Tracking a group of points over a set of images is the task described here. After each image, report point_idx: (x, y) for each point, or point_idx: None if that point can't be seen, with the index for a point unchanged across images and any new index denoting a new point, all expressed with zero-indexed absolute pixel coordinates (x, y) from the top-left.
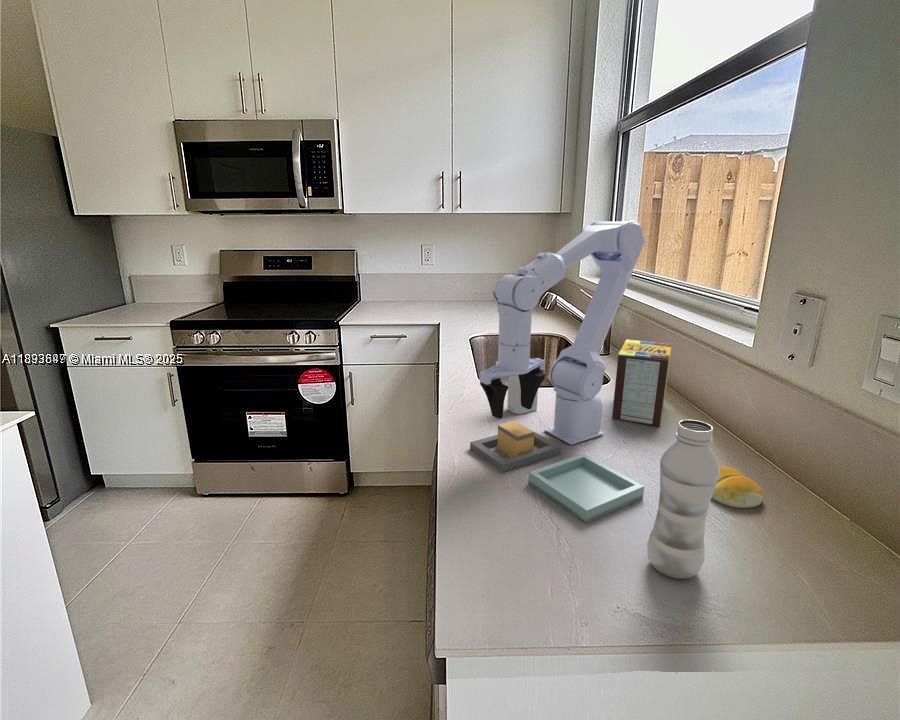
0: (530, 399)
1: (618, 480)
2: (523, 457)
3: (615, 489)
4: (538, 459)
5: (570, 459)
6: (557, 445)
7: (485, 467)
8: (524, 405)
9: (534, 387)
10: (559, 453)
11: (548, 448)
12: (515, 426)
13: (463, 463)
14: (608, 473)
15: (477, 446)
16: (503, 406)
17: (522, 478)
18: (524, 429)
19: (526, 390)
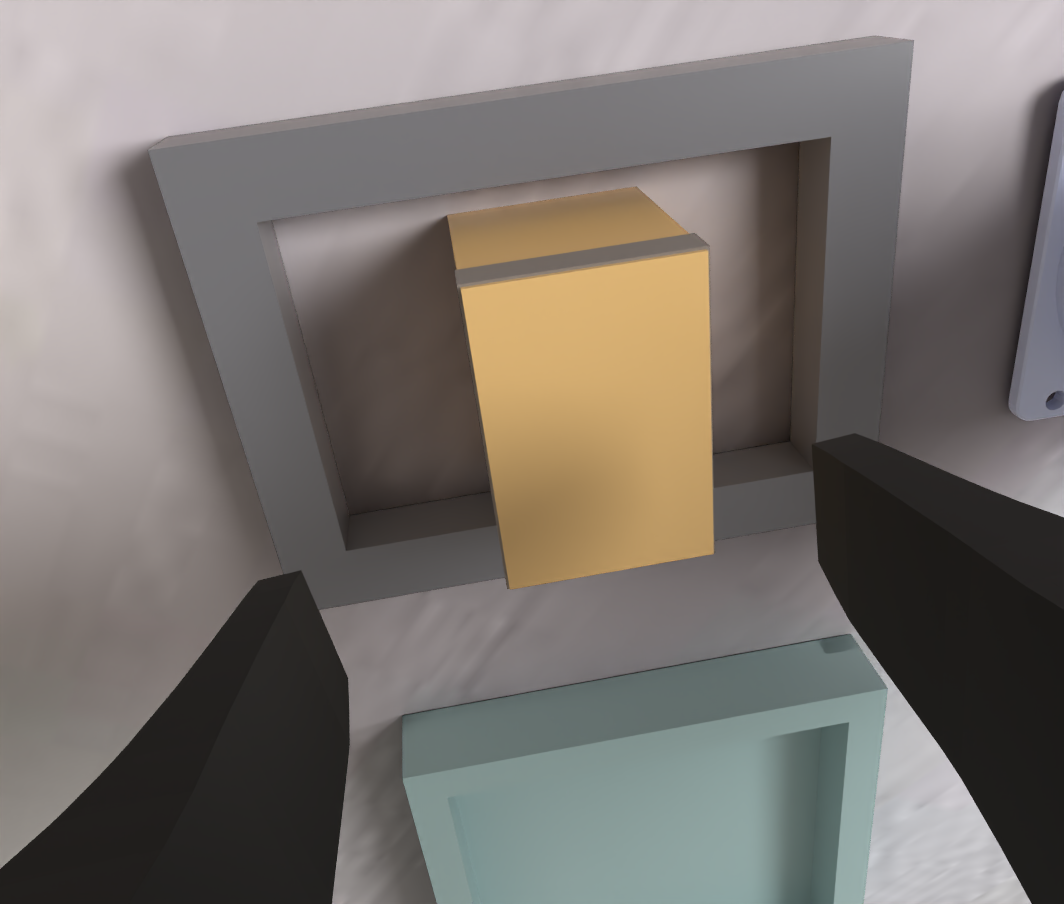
0: (895, 666)
1: (823, 874)
2: (502, 568)
3: (766, 879)
4: None
5: (750, 726)
6: None
7: (203, 479)
8: (828, 505)
9: (1028, 895)
10: None
11: (764, 513)
12: (623, 393)
13: (30, 366)
14: (829, 840)
15: (197, 272)
16: (336, 853)
17: (398, 663)
18: (660, 489)
19: (972, 672)
